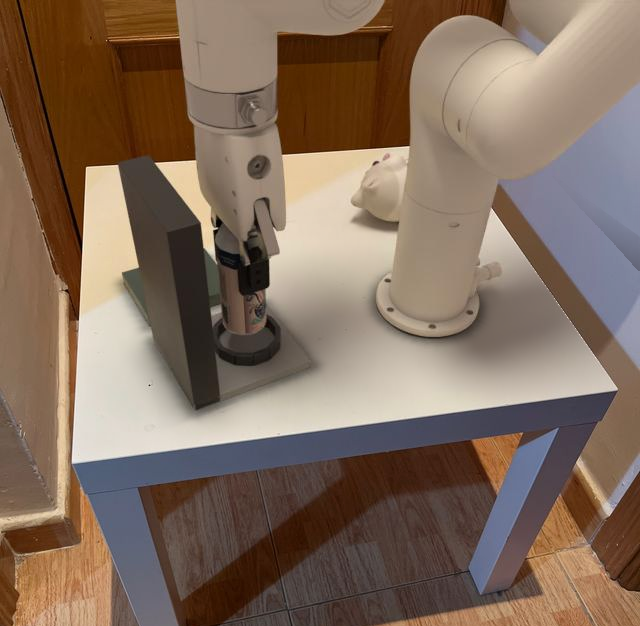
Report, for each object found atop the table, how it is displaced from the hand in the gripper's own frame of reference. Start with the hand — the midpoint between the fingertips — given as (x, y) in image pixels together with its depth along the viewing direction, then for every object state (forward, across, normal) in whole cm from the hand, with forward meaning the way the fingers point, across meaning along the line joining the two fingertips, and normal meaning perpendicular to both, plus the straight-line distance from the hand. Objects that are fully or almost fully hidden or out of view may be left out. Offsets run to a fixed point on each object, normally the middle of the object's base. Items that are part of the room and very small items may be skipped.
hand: (242, 273), depth 70 cm
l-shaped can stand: (+11, 0, +2) cm, 11 cm away
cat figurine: (+11, +15, -31) cm, 36 cm away
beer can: (+7, 0, 0) cm, 7 cm away
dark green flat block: (+11, +13, +3) cm, 17 cm away
